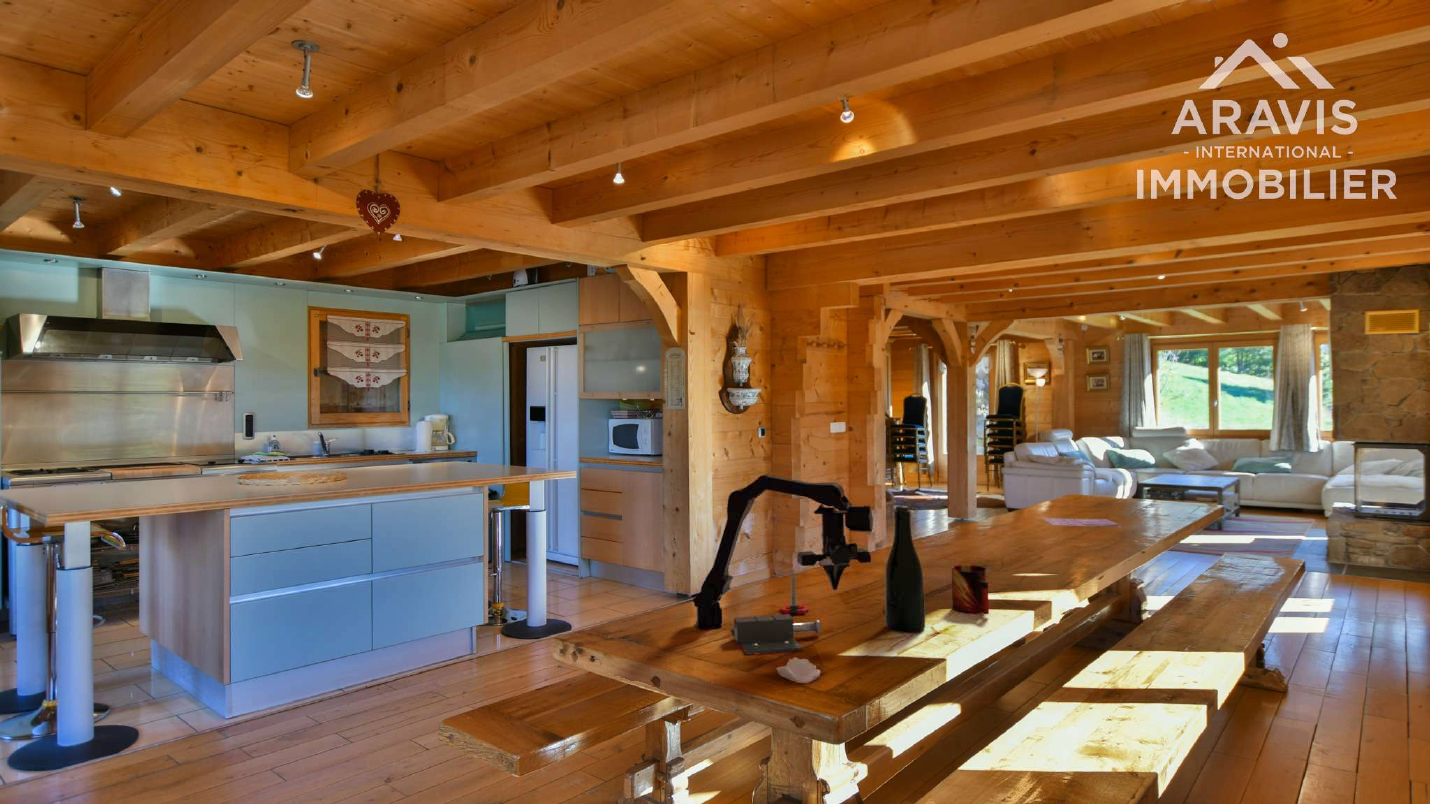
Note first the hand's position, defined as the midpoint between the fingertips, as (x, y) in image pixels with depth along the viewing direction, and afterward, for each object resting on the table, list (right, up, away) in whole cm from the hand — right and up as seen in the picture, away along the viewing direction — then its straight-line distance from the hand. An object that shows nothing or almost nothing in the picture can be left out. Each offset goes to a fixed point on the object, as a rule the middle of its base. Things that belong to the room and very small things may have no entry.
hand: (834, 589), depth 211 cm
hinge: (-19, -13, -3) cm, 22 cm away
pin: (-12, -12, -2) cm, 17 cm away
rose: (-13, -13, -31) cm, 35 cm away
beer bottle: (+20, -12, +5) cm, 24 cm away
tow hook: (-8, -13, +25) cm, 29 cm away
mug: (+44, -11, +20) cm, 50 cm away
